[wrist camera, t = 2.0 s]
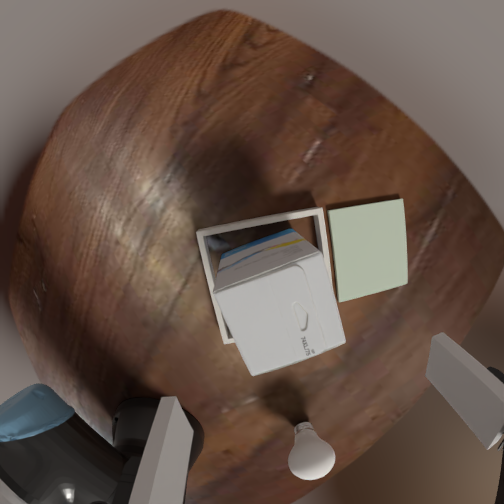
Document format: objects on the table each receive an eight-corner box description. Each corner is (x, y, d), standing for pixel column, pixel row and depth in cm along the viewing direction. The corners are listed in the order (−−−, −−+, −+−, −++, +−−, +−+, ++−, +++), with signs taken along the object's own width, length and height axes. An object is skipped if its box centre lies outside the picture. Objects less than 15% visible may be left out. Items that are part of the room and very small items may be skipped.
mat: (337, 300, 32) (339, 302, 32) (327, 210, 30) (328, 210, 29) (405, 282, 32) (407, 283, 32) (400, 198, 30) (402, 198, 29)
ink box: (219, 253, 30) (208, 290, 19) (292, 226, 30) (324, 247, 19) (247, 319, 32) (251, 380, 21) (314, 294, 32) (349, 344, 21)
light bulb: (322, 406, 36) (341, 459, 25) (322, 431, 38) (338, 480, 27) (279, 415, 36) (289, 471, 25) (283, 439, 37) (293, 490, 27)
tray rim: (224, 335, 32) (224, 344, 31) (198, 229, 30) (196, 232, 28) (330, 314, 33) (335, 321, 31) (317, 206, 30) (322, 207, 28)
